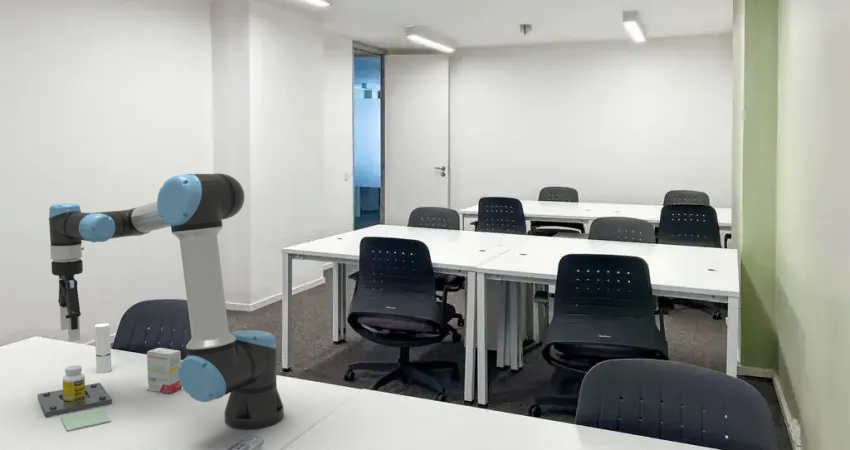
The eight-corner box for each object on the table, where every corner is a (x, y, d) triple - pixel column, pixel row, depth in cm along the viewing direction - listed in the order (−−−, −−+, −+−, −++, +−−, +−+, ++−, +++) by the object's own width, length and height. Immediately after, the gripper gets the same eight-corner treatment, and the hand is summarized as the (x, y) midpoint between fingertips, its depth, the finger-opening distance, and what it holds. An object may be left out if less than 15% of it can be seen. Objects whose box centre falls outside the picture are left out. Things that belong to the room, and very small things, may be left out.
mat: (110, 422, 166) (110, 420, 166) (67, 431, 160) (67, 430, 160) (102, 409, 174) (102, 408, 174) (60, 418, 168) (60, 417, 168)
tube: (96, 369, 206) (94, 324, 204) (111, 368, 208) (109, 322, 206) (96, 373, 202) (94, 327, 200) (111, 372, 204) (109, 326, 202)
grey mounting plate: (112, 403, 178) (111, 397, 178) (45, 417, 168) (45, 410, 168) (100, 387, 191) (99, 381, 190) (37, 398, 181) (37, 392, 181)
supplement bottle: (76, 406, 176) (74, 371, 175) (58, 404, 177) (57, 369, 176) (90, 398, 181) (88, 365, 180) (73, 397, 183) (71, 363, 182)
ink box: (182, 388, 190) (181, 349, 189) (171, 394, 186) (169, 354, 184) (159, 384, 193) (158, 346, 192) (147, 390, 189) (146, 351, 187)
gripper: (90, 265, 169) (93, 343, 171) (74, 252, 189) (77, 323, 191) (58, 267, 165) (61, 348, 167) (45, 254, 184) (48, 326, 187)
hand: (70, 334), depth 179 cm, fingers open, 13 cm apart
